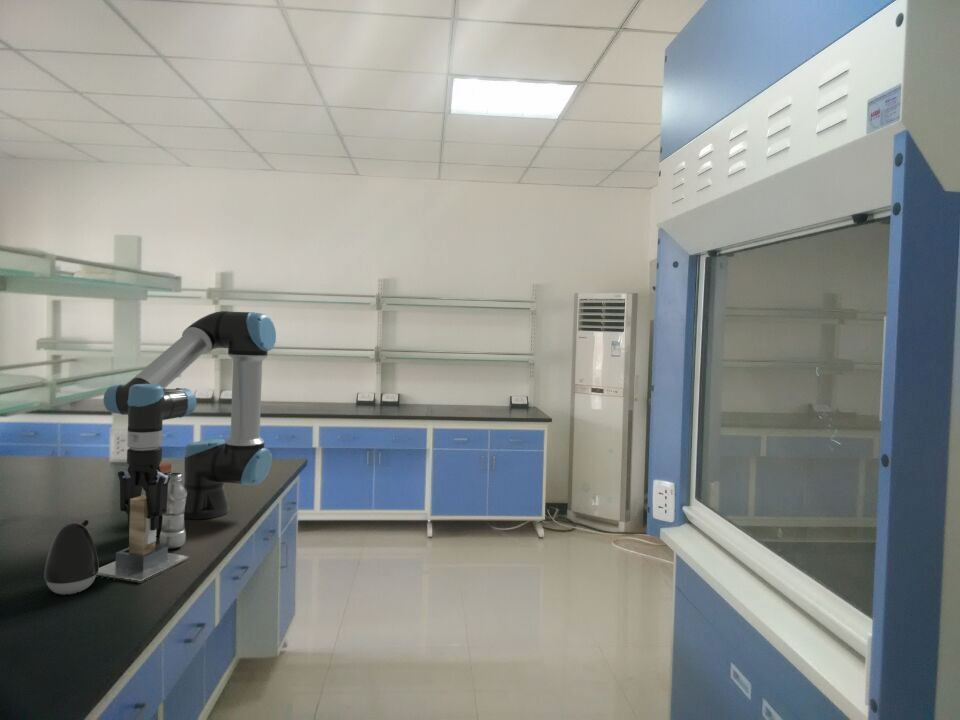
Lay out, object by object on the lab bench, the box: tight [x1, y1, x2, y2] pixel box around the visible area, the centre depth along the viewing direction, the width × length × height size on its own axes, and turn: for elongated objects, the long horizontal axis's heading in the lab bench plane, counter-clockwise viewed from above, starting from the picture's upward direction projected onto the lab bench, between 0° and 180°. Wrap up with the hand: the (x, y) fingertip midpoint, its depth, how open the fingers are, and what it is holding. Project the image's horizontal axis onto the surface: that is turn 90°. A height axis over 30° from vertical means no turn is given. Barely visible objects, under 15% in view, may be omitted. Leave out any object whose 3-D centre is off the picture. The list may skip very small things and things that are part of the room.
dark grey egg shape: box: [43, 519, 100, 596], centre depth 139 cm, size 10×10×15 cm
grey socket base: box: [96, 543, 190, 581], centre depth 153 cm, size 16×14×4 cm
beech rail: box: [128, 494, 156, 555], centre depth 152 cm, size 4×4×15 cm
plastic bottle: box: [159, 472, 187, 550], centre depth 167 cm, size 6×7×20 cm
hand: (142, 541), depth 153 cm, fingers closed on beech rail, 4 cm apart
